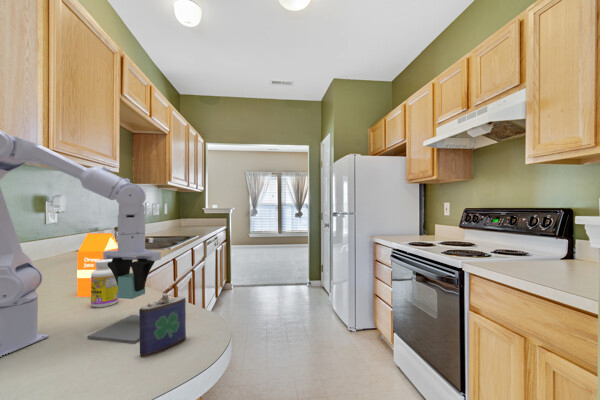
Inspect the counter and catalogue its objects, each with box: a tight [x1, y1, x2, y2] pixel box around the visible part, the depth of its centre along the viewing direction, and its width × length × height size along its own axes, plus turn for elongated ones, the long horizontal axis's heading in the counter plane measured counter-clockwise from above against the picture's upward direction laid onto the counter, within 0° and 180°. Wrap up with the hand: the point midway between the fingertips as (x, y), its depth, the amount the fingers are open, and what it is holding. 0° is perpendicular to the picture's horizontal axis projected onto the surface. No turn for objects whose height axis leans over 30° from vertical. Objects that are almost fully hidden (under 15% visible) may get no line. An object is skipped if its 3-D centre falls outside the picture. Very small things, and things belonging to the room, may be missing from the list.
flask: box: [138, 292, 187, 358], centre depth 56 cm, size 9×3×11 cm, turn 144°
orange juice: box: [76, 232, 118, 298], centre depth 93 cm, size 8×9×20 cm
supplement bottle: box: [90, 259, 119, 308], centre depth 82 cm, size 7×7×13 cm
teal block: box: [118, 272, 146, 300], centre depth 67 cm, size 4×4×5 cm
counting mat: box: [87, 314, 140, 345], centre depth 65 cm, size 12×12×1 cm
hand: (131, 289), depth 67 cm, fingers closed on teal block, 4 cm apart
